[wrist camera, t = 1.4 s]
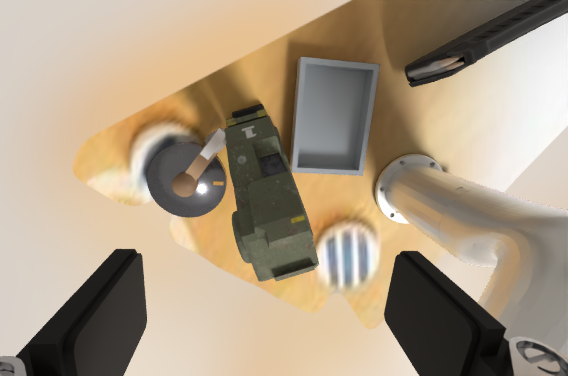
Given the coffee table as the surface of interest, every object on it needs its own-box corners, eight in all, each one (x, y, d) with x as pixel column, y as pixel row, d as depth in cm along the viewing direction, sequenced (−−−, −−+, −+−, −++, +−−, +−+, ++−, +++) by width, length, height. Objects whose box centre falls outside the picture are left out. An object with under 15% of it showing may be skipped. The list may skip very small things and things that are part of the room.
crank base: (227, 144, 44) (226, 146, 43) (226, 214, 48) (225, 218, 46) (148, 140, 43) (144, 141, 41) (152, 212, 46) (149, 216, 45)
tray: (370, 67, 44) (379, 64, 40) (355, 171, 48) (362, 175, 45) (297, 60, 42) (301, 56, 39) (289, 168, 47) (291, 172, 44)
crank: (189, 197, 44) (176, 218, 36) (169, 184, 43) (151, 202, 35) (238, 134, 42) (235, 140, 34) (218, 118, 41) (210, 121, 34)
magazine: (671, -65, 34) (523, 26, 27) (672, -37, 35) (529, 59, 28) (515, 1, 50) (394, 70, 43) (518, 19, 51) (401, 90, 44)
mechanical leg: (216, 90, 41) (195, 195, 16) (263, 77, 41) (318, 158, 16) (244, 170, 48) (262, 331, 23) (284, 158, 49) (346, 305, 23)
